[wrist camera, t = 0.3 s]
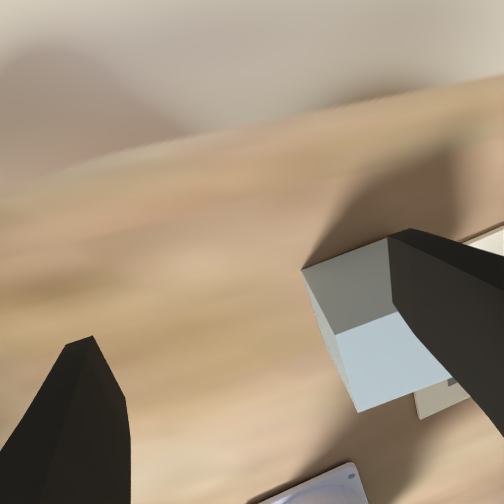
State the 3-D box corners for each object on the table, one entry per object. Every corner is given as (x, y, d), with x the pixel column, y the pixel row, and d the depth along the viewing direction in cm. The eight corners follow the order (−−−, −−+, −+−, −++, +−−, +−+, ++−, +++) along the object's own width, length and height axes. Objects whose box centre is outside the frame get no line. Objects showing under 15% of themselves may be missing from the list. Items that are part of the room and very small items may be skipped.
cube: (409, 309, 26) (460, 374, 22) (323, 341, 26) (358, 412, 22) (396, 234, 23) (451, 291, 19) (300, 270, 23) (334, 334, 19)
